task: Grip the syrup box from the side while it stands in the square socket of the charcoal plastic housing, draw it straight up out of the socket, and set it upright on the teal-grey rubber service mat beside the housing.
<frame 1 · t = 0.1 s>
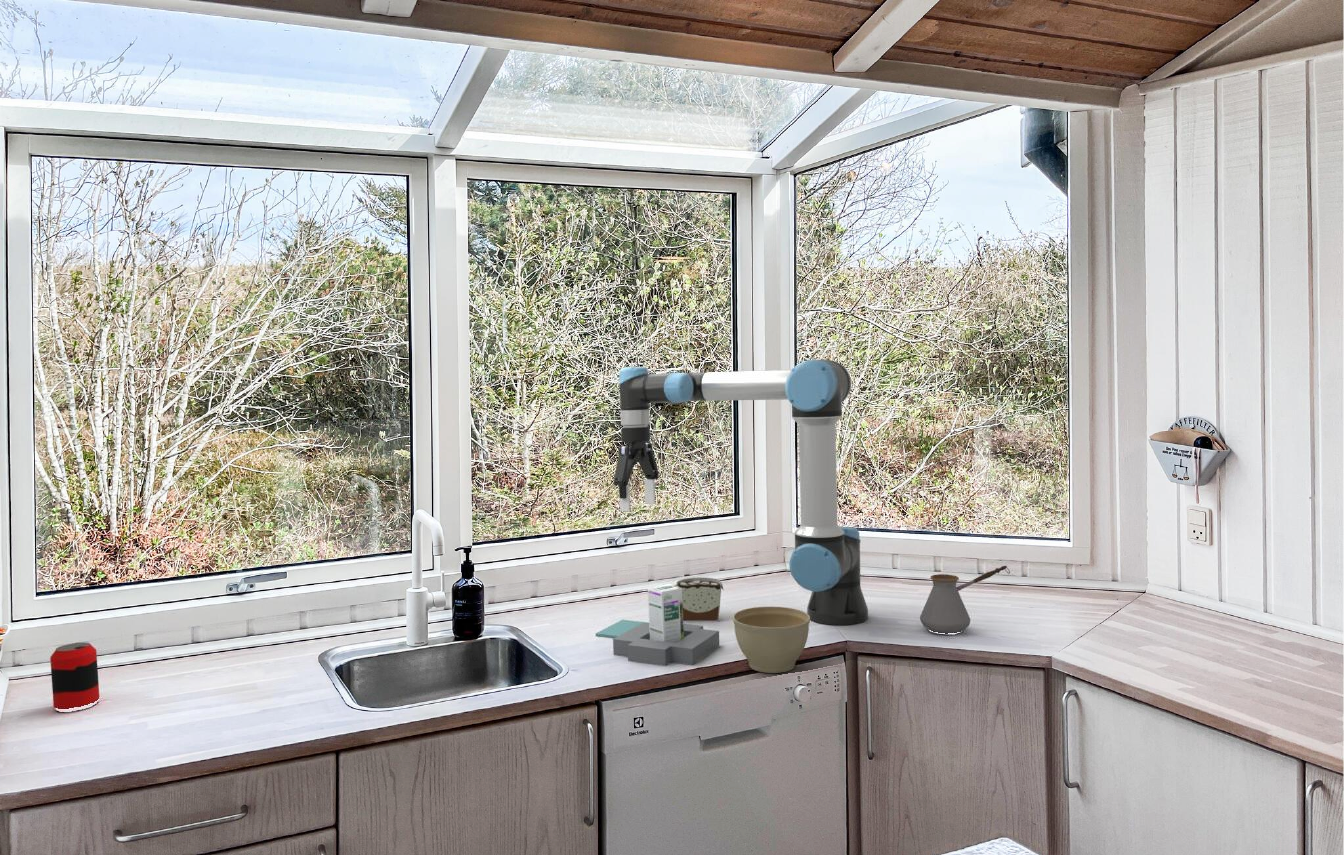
hand: (638, 507, 233), 28 cm above the countertop, tool pointing down, fingers open, 13 cm apart
soda can: (77, 707, 176), on the countertop
planter bowl: (772, 667, 188), on the countertop
coffee pot: (965, 630, 211), on the countertop
syrup box: (667, 651, 202), resting in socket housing
food container: (700, 619, 227), on the countertop
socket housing: (667, 650, 202), on the countertop
service mat: (632, 631, 217), on the countertop
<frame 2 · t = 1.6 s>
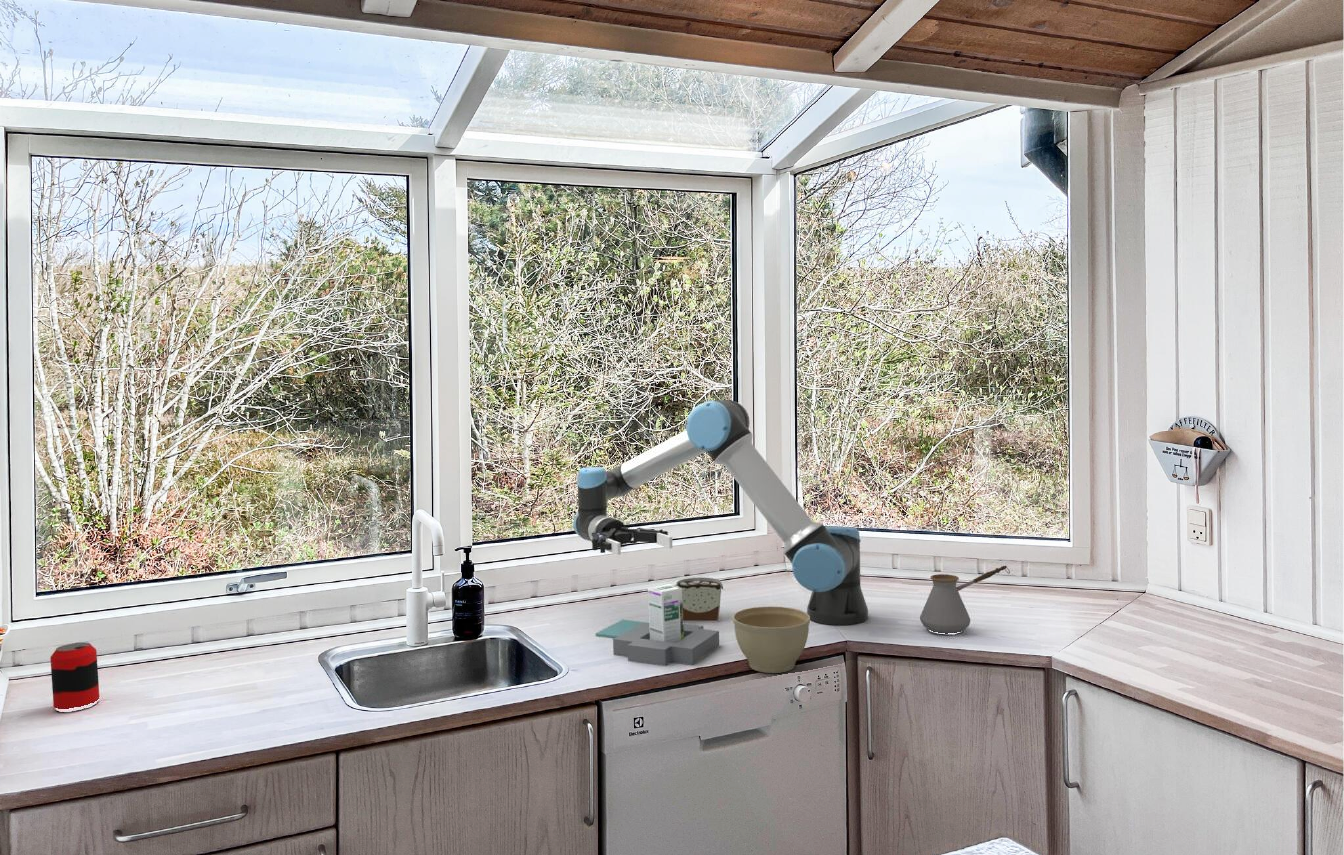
hand: (645, 545, 209), 22 cm above the countertop, tool horizontal, fingers open, 13 cm apart
nothing on the countertop moved.
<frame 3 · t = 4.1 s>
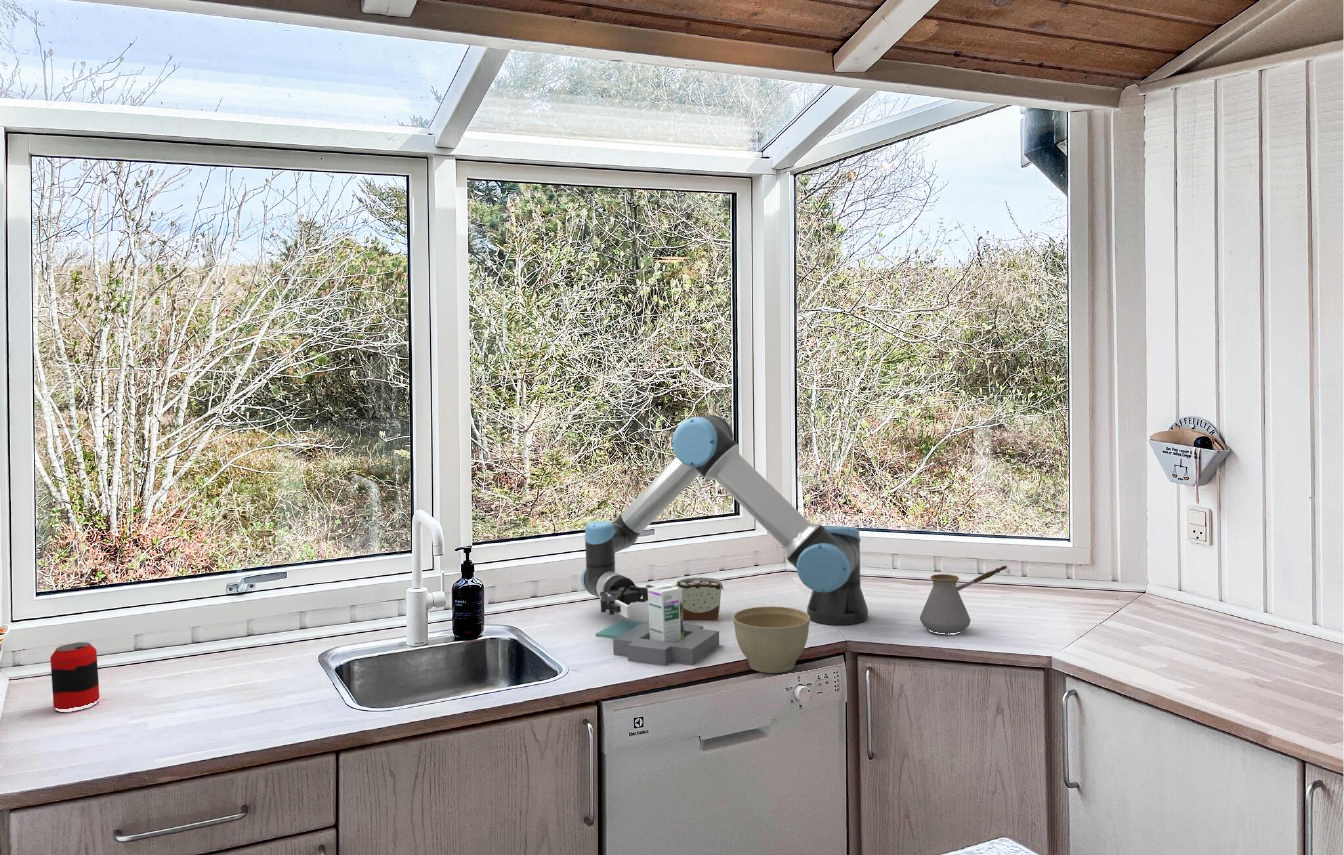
hand: (655, 607, 205), 9 cm above the countertop, tool horizontal, fingers open, 13 cm apart
nothing on the countertop moved.
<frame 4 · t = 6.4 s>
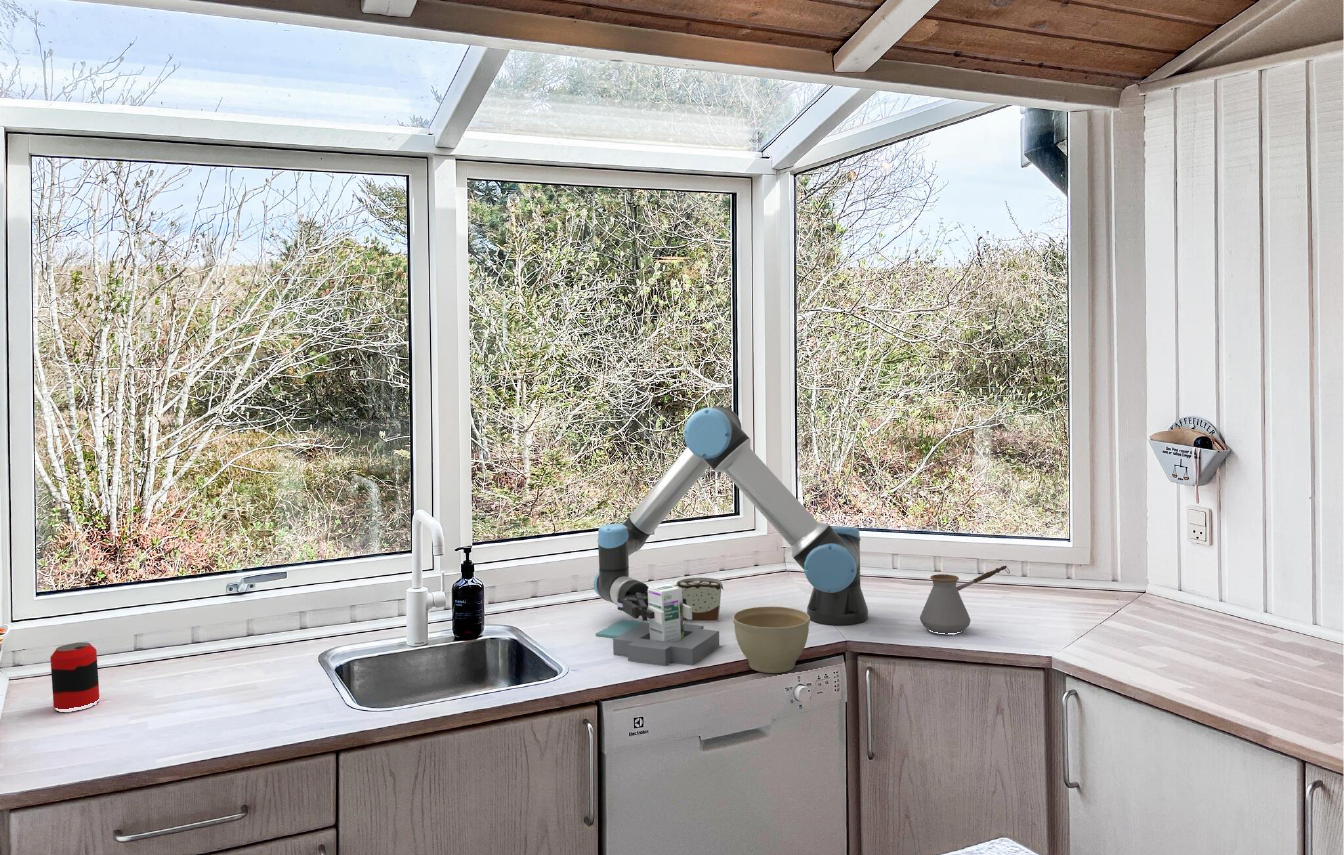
hand: (676, 615, 197), 9 cm above the countertop, tool horizontal, fingers closed on syrup box, 6 cm apart
syrup box: (667, 651, 202), resting in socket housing, touching gripper
everything else where it was.
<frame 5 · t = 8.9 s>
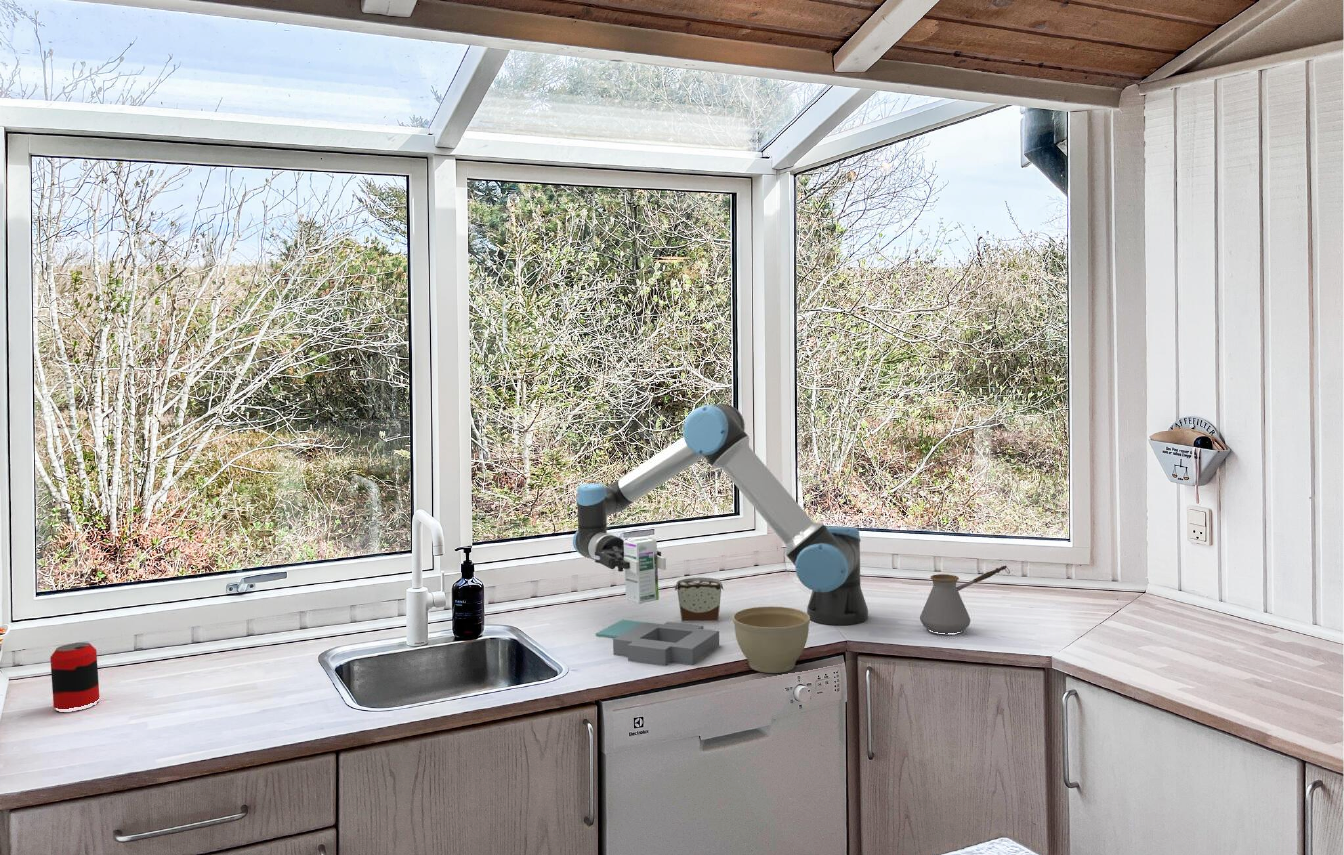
hand: (651, 565, 205), 18 cm above the countertop, tool horizontal, fingers closed on syrup box, 6 cm apart
syrup box: (642, 600, 210), point 9 cm above the countertop, touching gripper
everything else where it was.
when the fingers open (11 cm above the countertop, at t = 11.5 s): syrup box drops 1 cm, resting on service mat.
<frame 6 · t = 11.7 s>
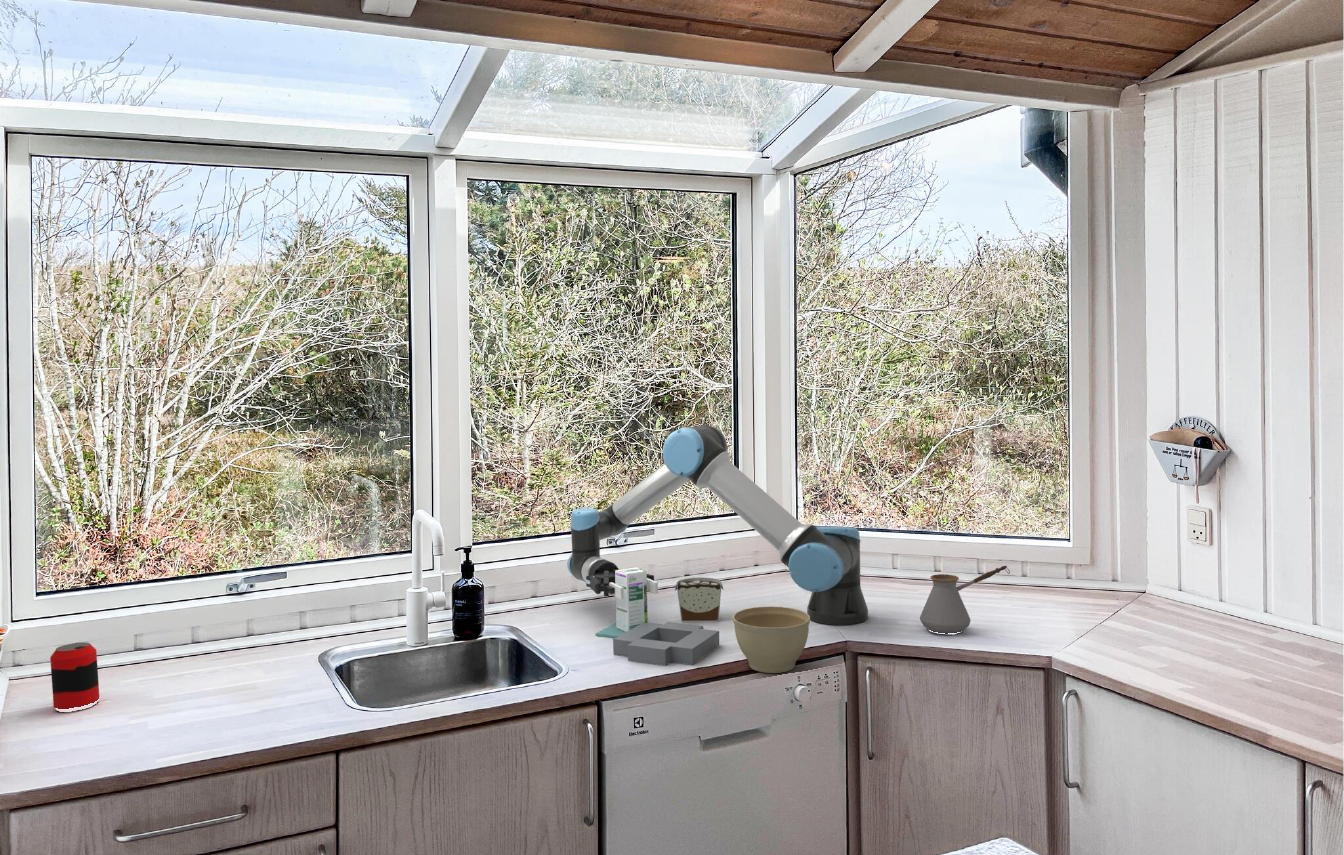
hand: (639, 590, 213), 11 cm above the countertop, tool horizontal, fingers open, 8 cm apart
syrup box: (631, 629, 217), resting on service mat
everything else where it was.
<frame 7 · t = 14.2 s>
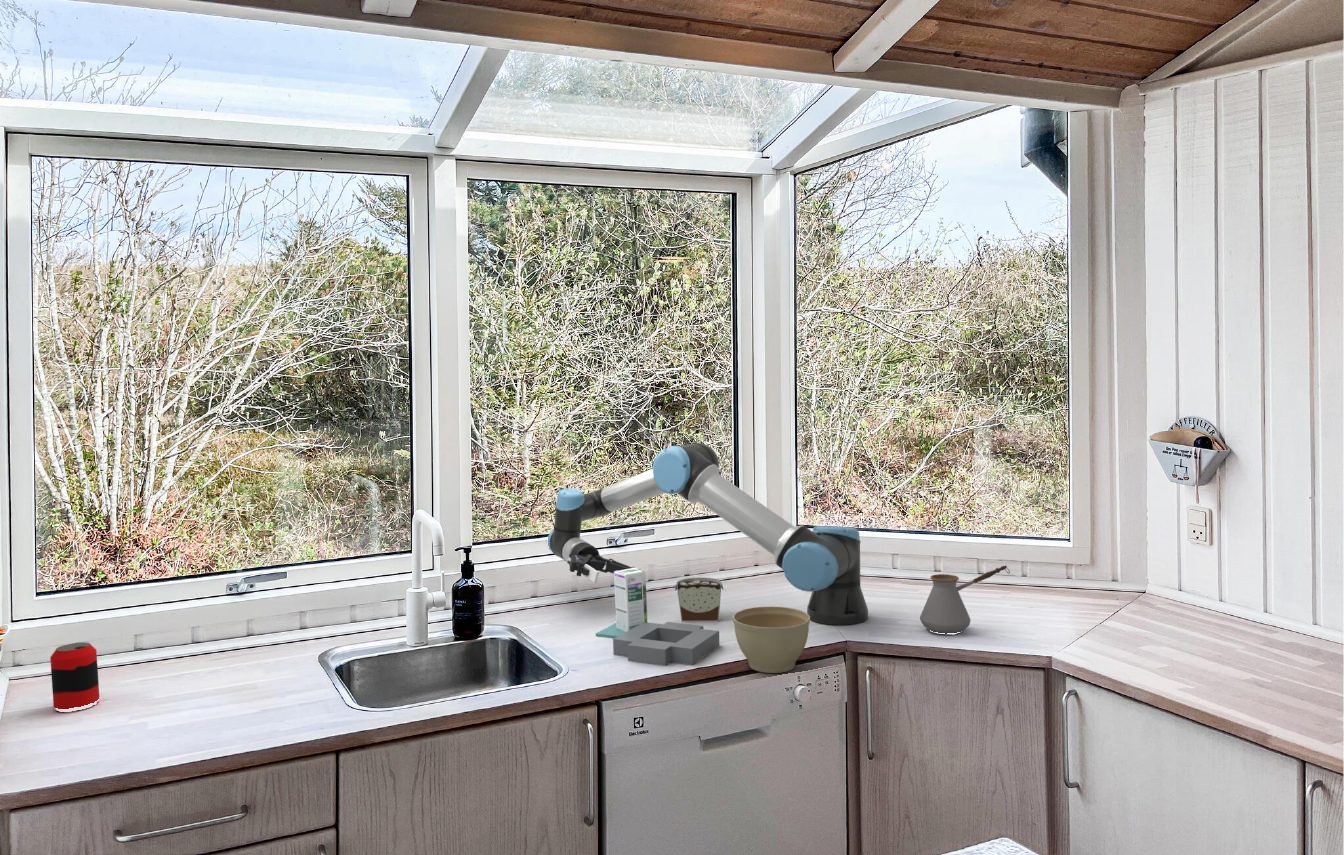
hand: (619, 579, 225), 11 cm above the countertop, tool horizontal, fingers open, 13 cm apart
nothing on the countertop moved.
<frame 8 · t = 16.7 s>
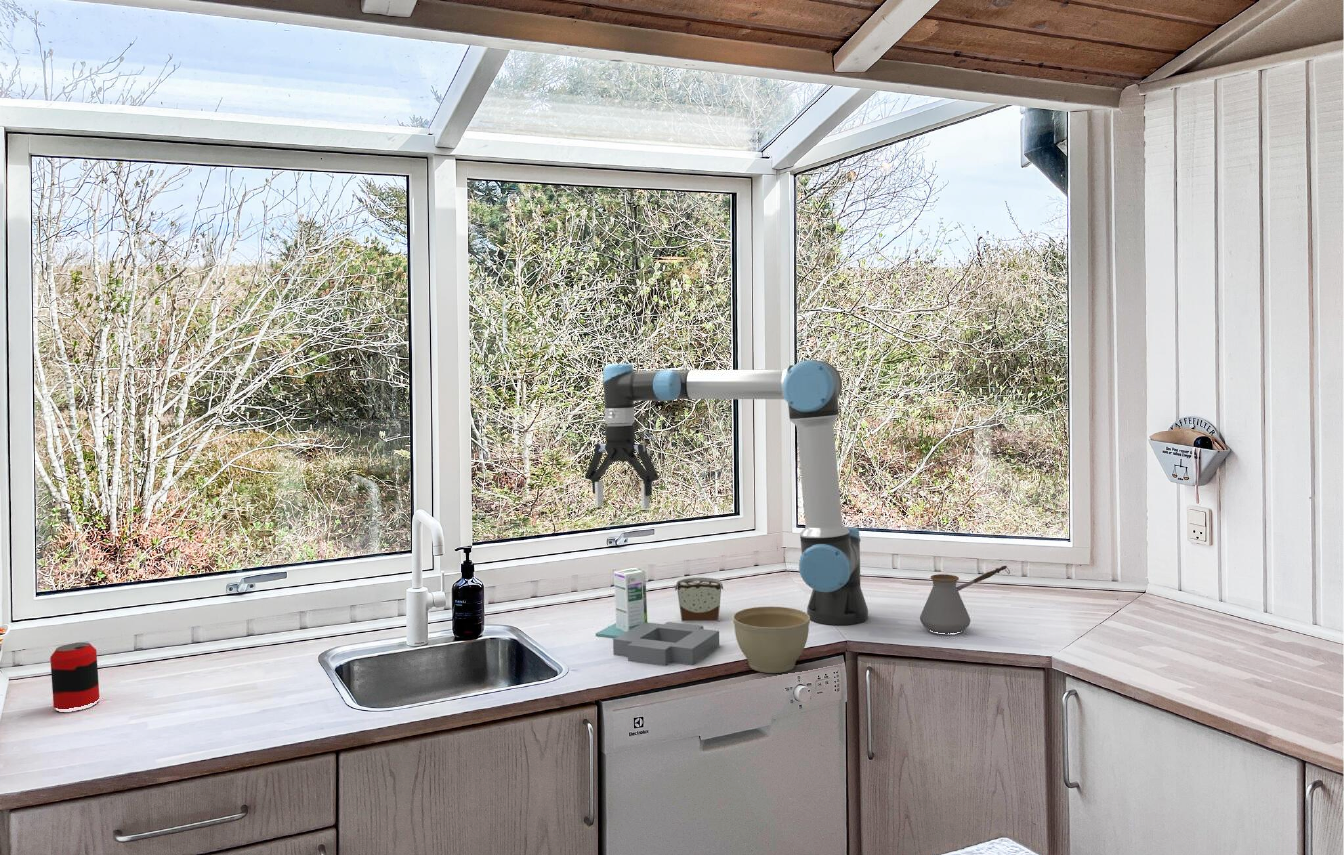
hand: (622, 507, 228), 29 cm above the countertop, tool pointing down, fingers open, 13 cm apart
nothing on the countertop moved.
at the end: syrup box inside the target area on the service mat (0.1 cm from its centre), point 0.4 cm above the service mat's base; syrup box tilted 0°; the gripper is holding nothing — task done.
